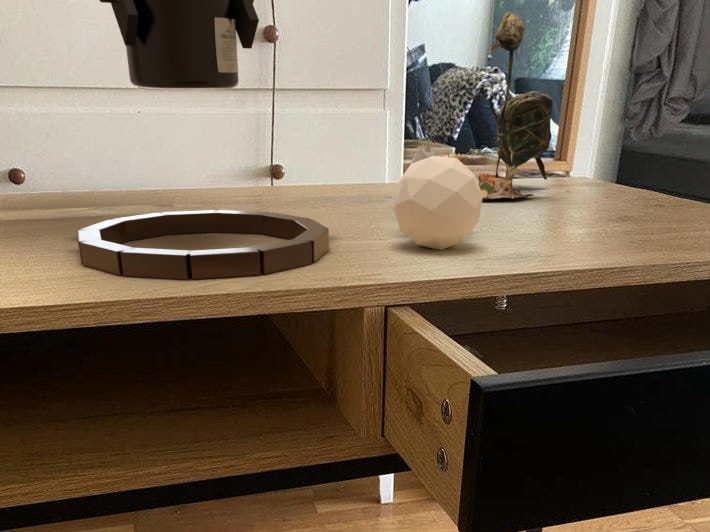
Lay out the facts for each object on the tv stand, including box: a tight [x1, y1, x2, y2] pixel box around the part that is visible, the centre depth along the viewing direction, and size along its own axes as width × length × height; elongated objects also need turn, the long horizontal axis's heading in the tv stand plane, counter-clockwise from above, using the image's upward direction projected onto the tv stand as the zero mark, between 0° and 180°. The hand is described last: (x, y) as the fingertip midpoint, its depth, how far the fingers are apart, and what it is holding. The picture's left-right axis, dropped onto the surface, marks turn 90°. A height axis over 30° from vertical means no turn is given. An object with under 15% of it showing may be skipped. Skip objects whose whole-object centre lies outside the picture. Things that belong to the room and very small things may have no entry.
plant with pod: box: [478, 11, 555, 200], centre depth 92 cm, size 8×11×20 cm
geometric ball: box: [392, 155, 484, 251], centre depth 67 cm, size 8×8×8 cm
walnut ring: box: [77, 209, 330, 281], centre depth 66 cm, size 21×21×2 cm
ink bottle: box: [125, 0, 239, 90], centre depth 61 cm, size 10×9×12 cm
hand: (193, 32), depth 59 cm, fingers closed on ink bottle, 9 cm apart
